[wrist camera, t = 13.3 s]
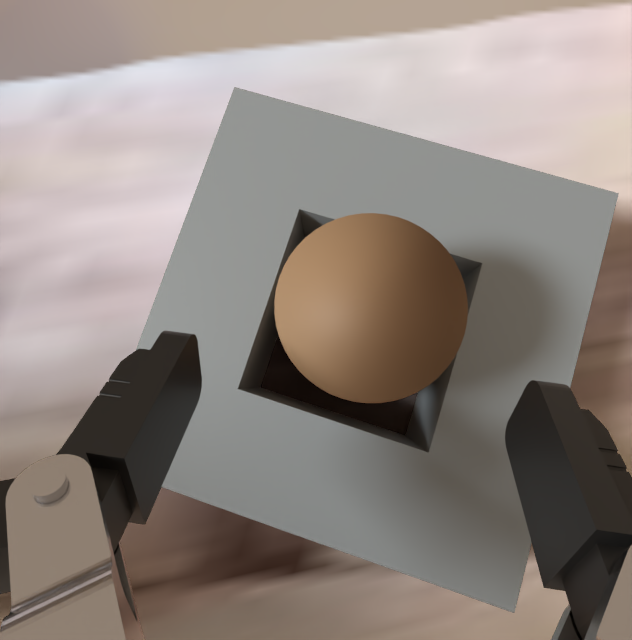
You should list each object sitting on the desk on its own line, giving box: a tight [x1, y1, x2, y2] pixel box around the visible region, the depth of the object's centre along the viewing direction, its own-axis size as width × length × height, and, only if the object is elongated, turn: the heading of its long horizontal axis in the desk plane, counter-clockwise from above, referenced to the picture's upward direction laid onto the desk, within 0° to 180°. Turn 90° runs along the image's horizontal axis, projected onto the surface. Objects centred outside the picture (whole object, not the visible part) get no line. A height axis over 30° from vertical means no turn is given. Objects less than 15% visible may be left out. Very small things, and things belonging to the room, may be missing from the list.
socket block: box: [136, 87, 619, 613], centre depth 18 cm, size 15×15×5 cm
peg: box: [274, 213, 468, 403], centre depth 16 cm, size 5×5×10 cm
